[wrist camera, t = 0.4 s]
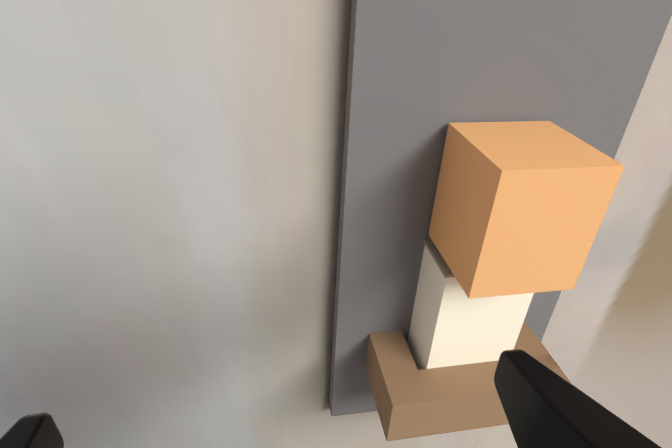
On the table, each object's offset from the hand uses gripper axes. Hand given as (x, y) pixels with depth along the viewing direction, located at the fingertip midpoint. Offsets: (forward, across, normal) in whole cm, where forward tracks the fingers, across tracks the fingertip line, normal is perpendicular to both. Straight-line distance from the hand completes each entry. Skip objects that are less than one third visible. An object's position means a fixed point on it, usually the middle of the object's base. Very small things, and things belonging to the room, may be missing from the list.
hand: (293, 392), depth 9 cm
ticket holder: (+14, -11, +5) cm, 18 cm away
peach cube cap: (+12, -11, +2) cm, 16 cm away
